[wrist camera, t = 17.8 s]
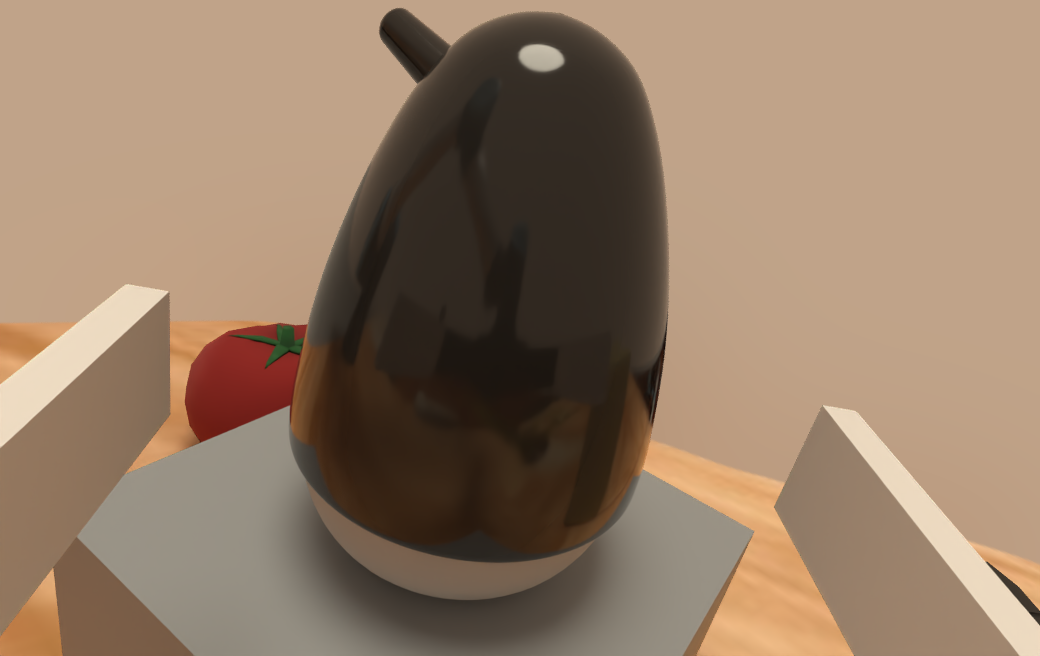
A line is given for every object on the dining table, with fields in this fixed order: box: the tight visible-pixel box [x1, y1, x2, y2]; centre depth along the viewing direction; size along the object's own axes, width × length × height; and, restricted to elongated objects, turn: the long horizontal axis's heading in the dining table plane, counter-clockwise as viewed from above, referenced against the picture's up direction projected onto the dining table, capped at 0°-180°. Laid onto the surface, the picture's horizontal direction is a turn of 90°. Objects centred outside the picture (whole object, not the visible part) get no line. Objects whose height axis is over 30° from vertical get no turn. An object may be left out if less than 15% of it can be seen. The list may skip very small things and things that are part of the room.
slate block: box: [53, 406, 754, 656], centre depth 24 cm, size 16×16×8 cm
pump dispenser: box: [289, 8, 669, 600], centre depth 19 cm, size 10×10×15 cm
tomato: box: [185, 323, 307, 442], centre depth 34 cm, size 8×8×7 cm
